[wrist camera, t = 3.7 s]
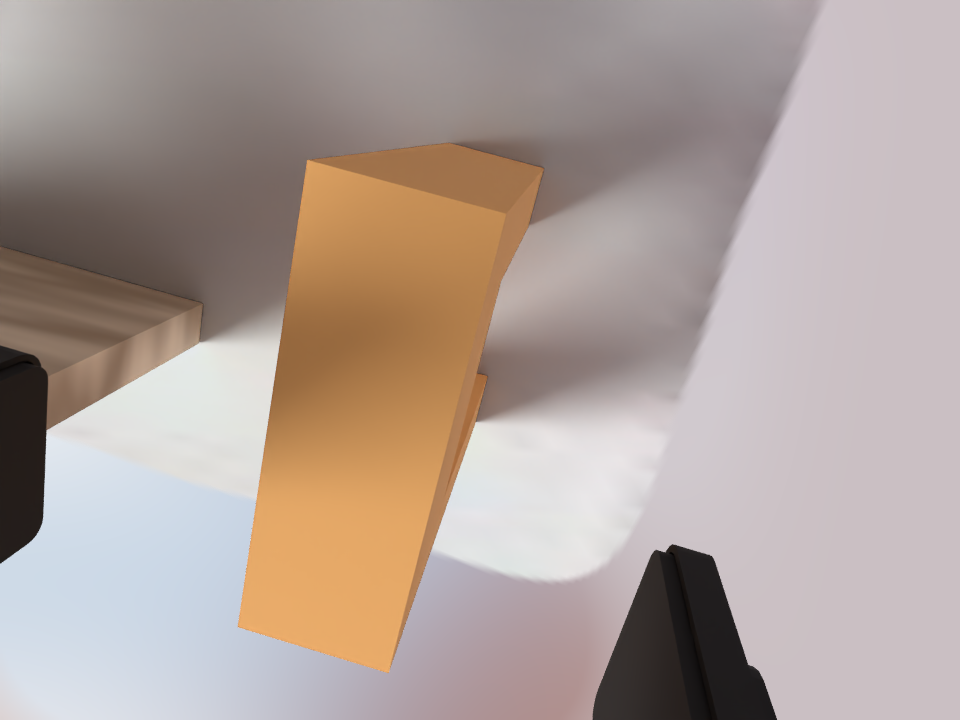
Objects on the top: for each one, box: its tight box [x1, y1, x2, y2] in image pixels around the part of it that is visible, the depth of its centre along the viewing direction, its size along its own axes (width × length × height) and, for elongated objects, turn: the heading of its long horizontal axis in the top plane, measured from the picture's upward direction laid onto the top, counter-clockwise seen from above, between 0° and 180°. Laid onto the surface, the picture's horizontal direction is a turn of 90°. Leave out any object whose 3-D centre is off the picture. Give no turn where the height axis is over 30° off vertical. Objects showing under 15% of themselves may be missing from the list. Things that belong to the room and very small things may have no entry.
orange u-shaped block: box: [238, 143, 544, 673], centre depth 17 cm, size 9×3×12 cm, turn 166°
